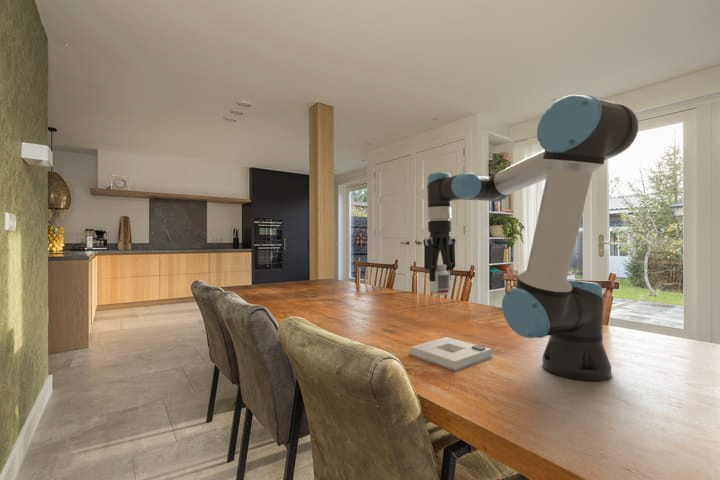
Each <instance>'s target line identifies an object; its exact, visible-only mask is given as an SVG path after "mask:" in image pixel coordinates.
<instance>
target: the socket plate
mask: <svg viewBox="0 0 720 480" xmlns="http://www.w3.org/2000/svg"><path fill="white" fill-rule="evenodd" d="M408 355H409V356H411V357H414V358H416V359H420V360H422V361H425V362H428V363H431V364H434V365H437V366H439V367H442V368H445V369H449V370H451V371H454V372H456V371H460V370H463V369H465V368H468V367H470V366H474V365H476V364H478V363H481V362H484V361H487V360H489V359H492V358H493V355H492V348H489V347H485V346H481V345H479V344H473V343H470V342H466V341H462V340H459V339H456V338H451V337H448V336H445V337H442V338H437V339H433V340H430V341H427V342H424V343H423V342H422V343H419V344H416V345H413V346H412V345H411V346H410V353H409V354H408Z"/></svg>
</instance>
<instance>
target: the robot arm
mask: <svg viewBox="0 0 720 480" xmlns="http://www.w3.org/2000/svg"><path fill="white" fill-rule="evenodd" d="M638 131H639V120H638V118H637V115H636V114H635V112H634V111H633V110H632V109H631V108H630V107H628V106H627V105H624V104H623V103H619V102H613V101H608V100H605V99H601V98H598V97H595V96H592V95H585V94H583V95H582V94H569V95H566V96H563V97H561V98H559V99H557V100H556V101H554V102H553V104H552V105H550V106H549V107H548V108H547V109H545V111H544V113H542V115H541V117H540V119H539V121H538V123H537V130H536V139H537V141H538V142H539V146H540V147H541V148H542V149H543V150H541V151H539V152H537V153H534V154H533V155H531V156H529V157H526V158H524V159H523V160H520V161H519V162H516V163H514V164H512V165H510V166H509V167H506V168H504V169H502V170H500V171H498V172H497V173H494V174H492V175H489V176H484V175H482V176H481V175H477V174H475V173H473V172H463V173H459V174H457V175H452V176H451V174H450V173H449V172H445V171H444V172H439V171H438V172H433V173H430V174H429V175H428V177H427V185H426V189H427V218H428V220H429V221H428V223H427V229H428V230H427V231H428V232H429V234H430V235H429V237H428V238H424V239H423V247H424V249H423V250H424V255H423V257H424V261H423V262H424V264H423V265H424V266H423V267H424V268H423V269H424V270H426V271H427V272H428V274H429V275H428V276H429V278H428V279H429V285H430V287H429V288H430V289H429V290H430V292H432V291H435V292H438V271H436V268H437V265H438V262H439V261H438V260H439V256H440V255H441V259H442V260H441V261H442V264H444V265H446V271H447V272H448V275H449V291H451V278H452V273H451V272H452V271H454V269H455V268H456V250H455V247H456V238H451V236H450V232H452V222H451V219H452V202H453V201H457V200H458V201H459V200H461V201H462V200H464V201H465V200H466V201H486V202H501V201H505V200H506V199H508V197H509V196H510V195H511V194H513V193H515V192H517V191H520V190H523V189H524V188H527V187H531V186H533V185H535V184H538V183H541V182H542V181H545V182H544V188H543V192H542V197H541V200H540V206H539V210H538V214H537V220H536V225H535V229H534V234H533V239H532V244H531V249H530V253H529V256H528V257H529V258H528V262H527V266H526V270H525V271H522V272H520V273H519V274H518V276H517V279H516V280H517V281H516V285H515V288H511V289H510V290H509V291H507V292H506V293H505V294H504V295H503V297H502V301H501V310H502V315H503V317H504V320H505V321H506V324H507V326H509V328H510V329H511V330H512V331H513V332H514V333H515V334H517V335H518V336H521V337H522V338H526V339H534V338H536V339H542V338H545V337H547V336H549V338H548V342H547V343H546V347H545V348H544V352H543V354H542V359H541V360H542V367H543V368H544V369H545V370H546V371H548V372H550V373H551V374H553V375H554V374H555V375H556V376H559V377H563V378H567V379H572V380H579V381H584V382H585V381H586V382H587V381H589V382H599V381H606V380H609V379H611V378H612V365H611V362H610V360H609V357H608V354H607V351H606V349H605V345H604V343H603V342H604V341H603V340H604V339H603V333H604V332H603V330H604V329H603V328H604V327H603V325H604V323H603V322H604V321H603V319H604V318H603V317H604V316H603V309H604V308H603V304H604V303H603V302H604V301H603V300H604V296H603V288H602V286H601V285H600V284H599V283H597V282H594V281H593V282H592V281H583V280H574V279H568V276H569V271H570V267H571V264H572V260H573V255H574V252H575V247H576V244H577V239H578V236H579V231H580V227H581V223H582V218H583V214H584V210H585V206H586V203H587V198H588V195H589V190H590V186H591V183H592V182H591V181H592V178H593V174H594V173H595V172H596V171H598V170H599V169H601V168H602V167H603V166H604V163H605V161H607V160H609V159H613V158H615V157H617V156H619V155H621V154H622V153H624V152H625V151H626V150H627V149H629V148H630V147H631V146H632V144H633V143H634V141H635V139H636V137H637V135H638Z"/></svg>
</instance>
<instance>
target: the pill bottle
mask: <svg viewBox="0 0 720 480" xmlns="http://www.w3.org/2000/svg"><path fill="white" fill-rule="evenodd" d="M436 271H438V292H435V291H431V292H432V295H435V296H447V295H449V293H450V290H449V275H448V272H447V271H446V265H444V264H443V263H442V264H440V263H439V264H438V263H437V268H436Z"/></svg>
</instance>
